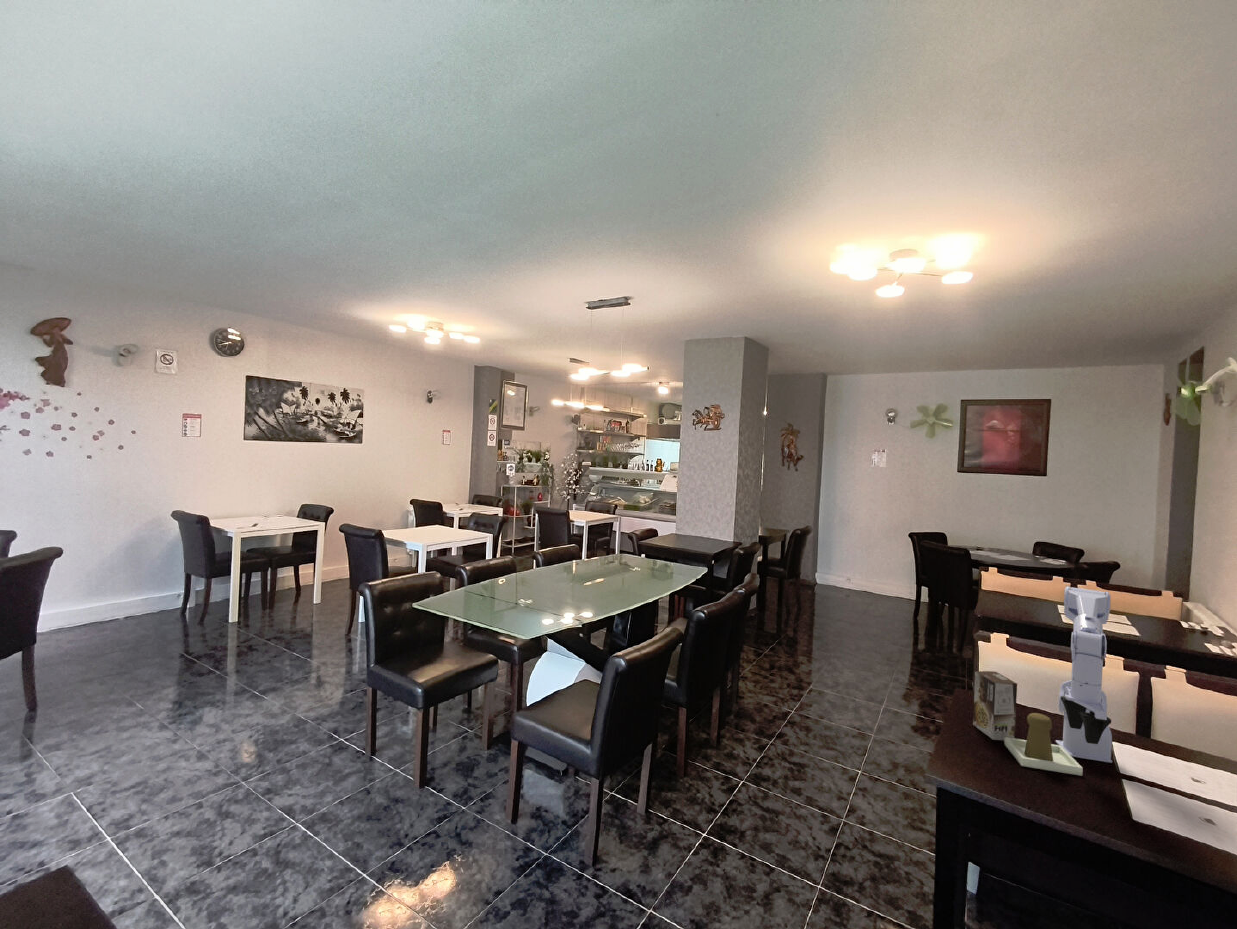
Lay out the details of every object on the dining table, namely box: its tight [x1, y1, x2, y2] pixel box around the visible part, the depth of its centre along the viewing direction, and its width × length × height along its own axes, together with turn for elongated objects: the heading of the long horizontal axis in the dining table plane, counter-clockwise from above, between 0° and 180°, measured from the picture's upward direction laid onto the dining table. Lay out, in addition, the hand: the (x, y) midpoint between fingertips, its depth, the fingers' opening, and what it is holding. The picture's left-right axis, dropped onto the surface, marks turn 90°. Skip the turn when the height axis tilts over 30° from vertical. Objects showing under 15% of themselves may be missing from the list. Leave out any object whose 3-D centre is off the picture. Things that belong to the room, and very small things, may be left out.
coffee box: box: [972, 670, 1018, 741], centre depth 156 cm, size 9×6×16 cm
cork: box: [1024, 712, 1053, 762], centre depth 143 cm, size 6×6×11 cm
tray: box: [1003, 737, 1084, 777], centre depth 143 cm, size 13×11×2 cm
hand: (1083, 735), depth 135 cm, fingers open, 7 cm apart
